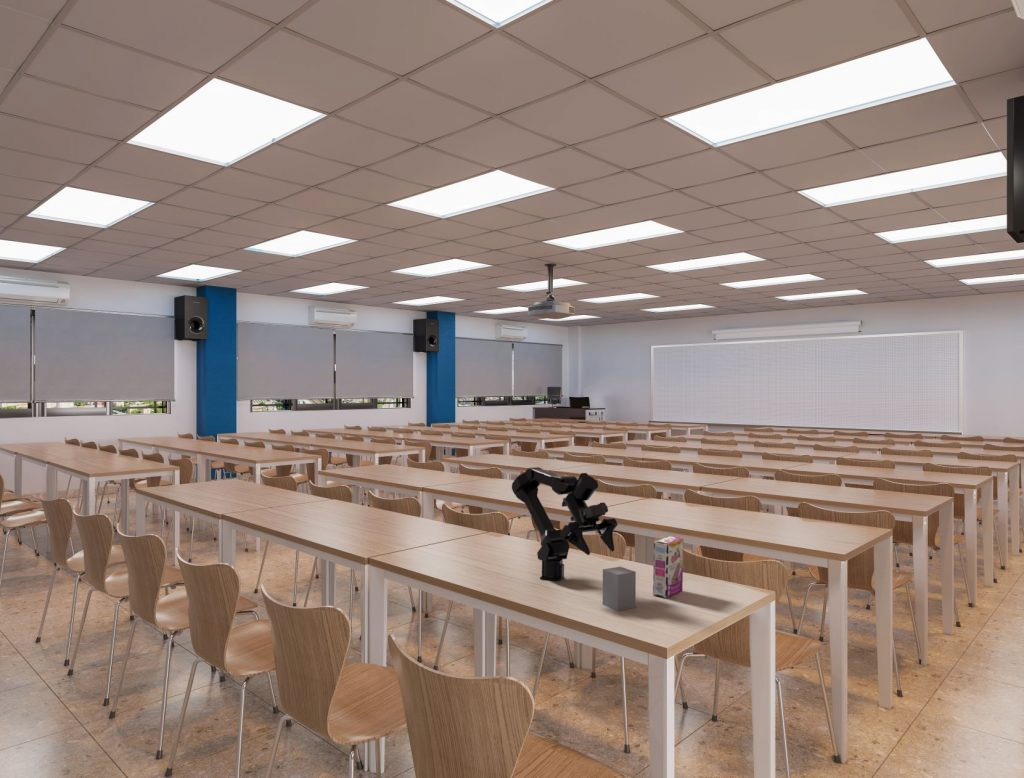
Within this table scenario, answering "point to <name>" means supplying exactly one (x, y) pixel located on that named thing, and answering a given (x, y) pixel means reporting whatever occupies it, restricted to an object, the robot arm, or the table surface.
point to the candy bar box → (668, 566)
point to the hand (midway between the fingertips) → (601, 552)
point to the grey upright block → (619, 588)
